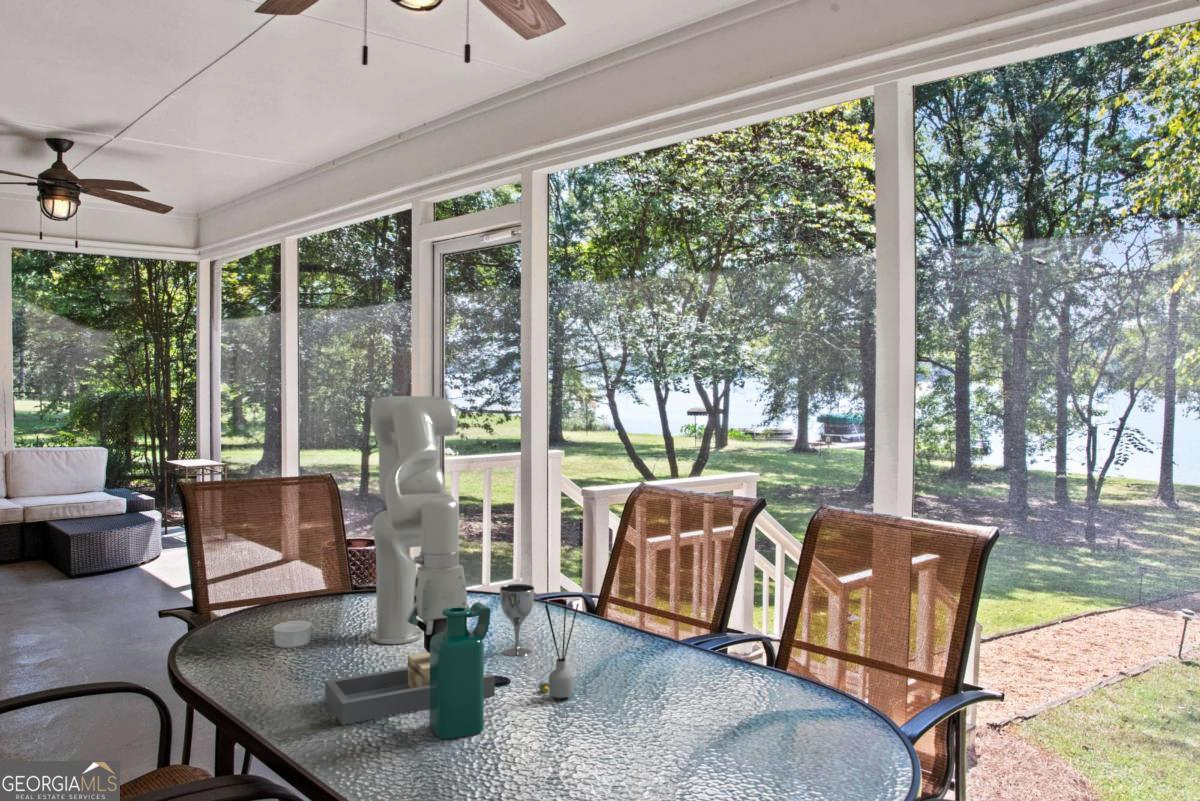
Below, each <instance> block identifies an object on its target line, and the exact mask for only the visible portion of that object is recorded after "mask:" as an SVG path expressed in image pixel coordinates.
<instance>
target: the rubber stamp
mask: <svg viewBox="0 0 1200 801" xmlns="http://www.w3.org/2000/svg"><path fill="white" fill-rule="evenodd" d="M446 629H447V618H444V619H436V620H433V627H432V631H433V634H434V635H436V634H438V633H441V632H445V631H446ZM407 667H408V685H409V686H410V687H411V688H416V687H422V686H427V685H430V653H428V652H427V651H426V652H422V653H421V652H420V653H416V654H415V653H414V654H409V655H407Z"/></svg>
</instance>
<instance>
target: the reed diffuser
mask: <svg viewBox="0 0 1200 801" xmlns="http://www.w3.org/2000/svg"><path fill="white" fill-rule="evenodd" d="M544 602H545V606H544V608H545V610H546V616H547V618H548V623H549V627H550V632H551V635H552V639H553V642H554V646H555V650H556V654H557V659H556V660H555V661H556V662H555V663H556V665H555V667H556V668H555V669H554V670H552V671H551V672H550V673H549V675H548V680H542V681H541V682H539V684H538V689H539V691H540V692H542V693H543V694H547V693H549V696H551V697H553V698H558V699H559V698H561V699H562V698H568V697H570V696H572V695H573V683H574V681H573V680H574V679H573V678H574V677H573V674H572V672H571V671H570V670H569V669H567V668H566V667H567V666H566V665H567V664H566V655H567V652H568V647H569V643H570V641H571V635H572V631H573V628H574V624H575V620H576V616H577V613H578V608H579V603H577V604H576V607H575V612H574V616H573V620H572V624H571V628H570V631H569V634H568V639H567V644H566V647H565V639H566V638H565V635H566V621H567V620H566V617H567V616H566V615H567V598H565V599H564V617H563V634H562V636H563V637H562V654H561V656H562V658H560V655H559V649H558V645H557V641H556V636H555V633H554V631H555V630H554V629H553V628H554V627H553V623H552V619H551V615H550V610H549V607H548V602H547V597H546V596H544Z"/></svg>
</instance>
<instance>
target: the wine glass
mask: <svg viewBox="0 0 1200 801" xmlns="http://www.w3.org/2000/svg"><path fill="white" fill-rule="evenodd" d="M499 598H500V599H499V600H500V606H501V609H502V610H501V611H502V612H503V614H504V616H505V617H506V618H507V619H508V621H510V623H511V624H512V626H513V630H514V638H515V639H514V640H515V644H514V646H513V647H507V649H506V648H504V649H502V650H503V651H502V650H501V654H502V653H503V654H502V655H504V654H505V655H504V656H506V655H510V656H509V657H514V656H517V657H524V656H523V655H525V656H528V655H527V654H529V655H531V654H532V653H533V650H532V649H531V648H529V647H524V646H520V645H519V644H520V638H519V637H520V631H521V626H522V624H523V623H524V622H525V620H526V619H527V618H528V616H529V615H530V613H531V612H532V610H533V606H534V599H535V586H533V585H531V584H526V583H525V584H524V583H512V584H504V585H502V586H500V587H499ZM531 650H532V651H531ZM531 652H532V653H531ZM530 653H531V654H530Z"/></svg>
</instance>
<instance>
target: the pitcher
mask: <svg viewBox="0 0 1200 801" xmlns="http://www.w3.org/2000/svg"><path fill="white" fill-rule="evenodd" d="M469 608H470V609H469ZM469 608H466V607H450V608H446V609H444V610H443V611H442V614H443V615H444V616H447V629H446V631H445V632H441V633H438V634H436V635H434V636H433V637H432V639H431V641H430V709H429V727H430V728H431V730H432V731H433V732H434V733H435V735H436V736H437V737H438V738H439V739H441V740H454V739H459V738H464V737H470V736H475V735H478V733H479V734H480V733H482V732H483V731H484V727H485V726H484V724H485V723H484V722H485V721H484V720H485V716H484V715H485V712H484V711H485V710H484V709H485V708H484V704H485V702H484V701H485V698H484V675H485V669H484V668H485V662H484V661H485V659H484V658H485V657H484V656H485V644H484V641H483V640H484V639H485V638H486V636H487V633H488V630H489V628H490V620H491V610H492V609H491V608H490V607H488V606H486V605H485V604H483V603H482V602H480V601H476V602H474V603H472V605H471V607H469ZM476 617H477V623H476V626H474V629H473V630H470V629H468V618H469V619H470V618H476Z"/></svg>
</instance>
